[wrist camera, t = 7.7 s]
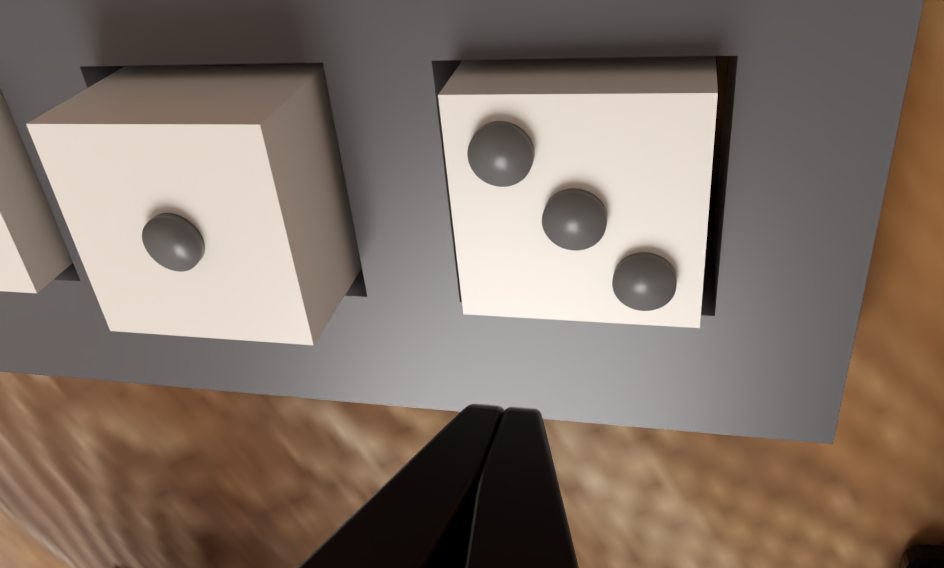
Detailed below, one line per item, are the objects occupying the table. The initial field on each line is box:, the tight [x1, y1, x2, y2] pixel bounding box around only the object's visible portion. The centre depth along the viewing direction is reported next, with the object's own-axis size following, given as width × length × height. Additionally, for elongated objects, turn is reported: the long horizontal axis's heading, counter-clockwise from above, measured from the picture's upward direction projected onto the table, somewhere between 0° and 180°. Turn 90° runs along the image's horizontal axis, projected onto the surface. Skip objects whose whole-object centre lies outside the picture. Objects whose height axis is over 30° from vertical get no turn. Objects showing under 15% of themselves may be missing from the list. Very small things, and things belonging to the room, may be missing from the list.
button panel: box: [0, 0, 924, 444], centre depth 17 cm, size 24×11×2 cm, turn 95°
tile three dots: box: [438, 56, 718, 328], centre depth 15 cm, size 4×4×3 cm
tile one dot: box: [26, 63, 362, 345], centre depth 16 cm, size 4×4×3 cm
